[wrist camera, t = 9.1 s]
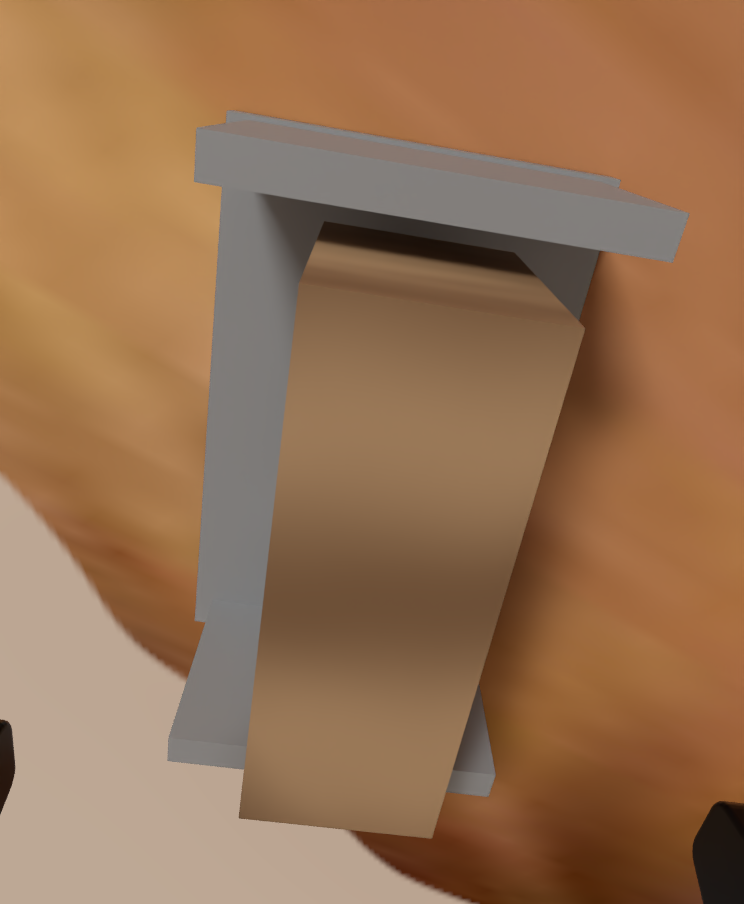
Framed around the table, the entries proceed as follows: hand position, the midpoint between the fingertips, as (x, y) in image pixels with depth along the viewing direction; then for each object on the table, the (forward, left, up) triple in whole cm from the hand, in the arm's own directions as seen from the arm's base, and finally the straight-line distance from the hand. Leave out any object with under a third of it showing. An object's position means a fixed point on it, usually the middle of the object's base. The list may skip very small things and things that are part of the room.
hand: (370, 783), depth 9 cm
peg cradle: (0, 0, -12) cm, 12 cm away
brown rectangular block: (0, 0, -9) cm, 9 cm away
